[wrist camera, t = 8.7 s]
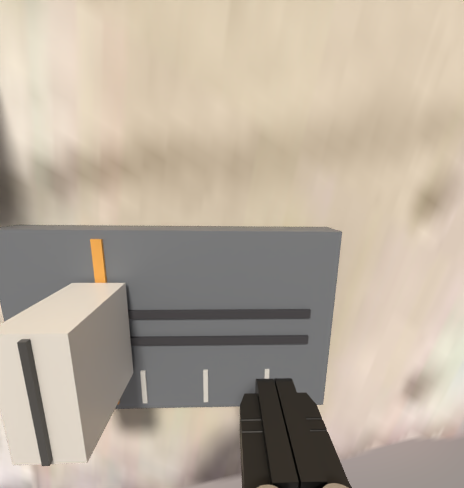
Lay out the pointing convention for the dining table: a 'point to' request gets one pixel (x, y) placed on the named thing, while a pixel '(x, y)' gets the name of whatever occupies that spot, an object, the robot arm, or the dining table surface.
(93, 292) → the fader cap
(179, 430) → the dining table surface
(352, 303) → the dining table surface
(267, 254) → the console board
